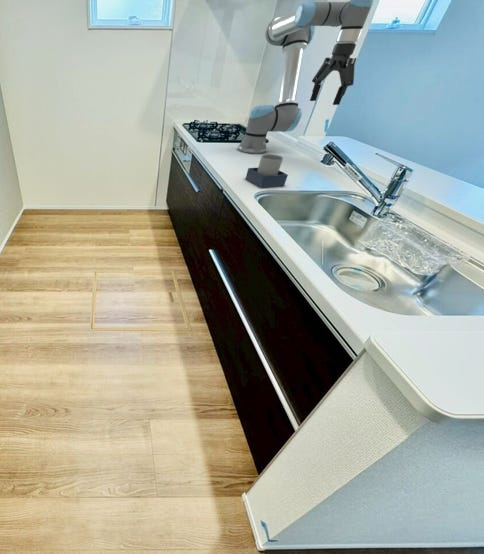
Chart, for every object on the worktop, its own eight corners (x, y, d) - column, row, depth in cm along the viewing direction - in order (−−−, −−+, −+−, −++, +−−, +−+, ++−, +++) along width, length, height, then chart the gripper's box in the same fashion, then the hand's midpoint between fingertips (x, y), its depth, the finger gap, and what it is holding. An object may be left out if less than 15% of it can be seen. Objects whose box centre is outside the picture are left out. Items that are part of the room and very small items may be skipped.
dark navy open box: (245, 179, 137) (248, 168, 134) (267, 177, 139) (271, 166, 136) (260, 188, 128) (263, 176, 125) (284, 185, 130) (288, 174, 127)
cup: (276, 184, 129) (284, 160, 123) (257, 182, 130) (264, 159, 124) (272, 177, 136) (280, 155, 130) (253, 176, 137) (260, 153, 131)
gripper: (381, 42, 112) (353, 106, 125) (329, 43, 132) (310, 99, 145) (365, 42, 111) (338, 106, 124) (315, 43, 130) (297, 99, 143)
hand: (323, 102), depth 134 cm, fingers open, 13 cm apart
